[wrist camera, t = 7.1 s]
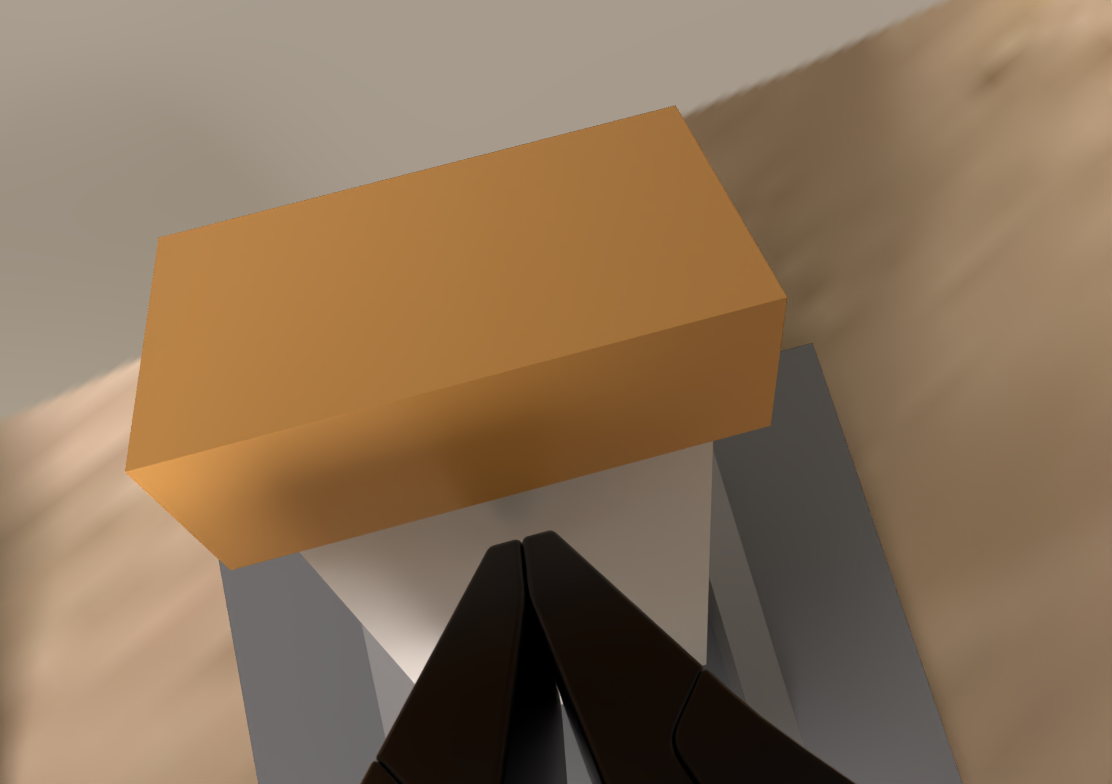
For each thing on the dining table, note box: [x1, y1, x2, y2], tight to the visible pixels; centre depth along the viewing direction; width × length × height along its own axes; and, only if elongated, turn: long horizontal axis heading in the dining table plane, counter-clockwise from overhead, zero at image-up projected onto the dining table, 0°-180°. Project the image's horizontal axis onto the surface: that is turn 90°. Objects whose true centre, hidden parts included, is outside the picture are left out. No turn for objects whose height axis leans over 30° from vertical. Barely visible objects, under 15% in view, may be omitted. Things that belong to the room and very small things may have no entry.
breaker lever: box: [125, 106, 787, 705], centre depth 12 cm, size 3×6×10 cm, turn 105°
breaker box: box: [219, 343, 962, 784], centre depth 17 cm, size 14×14×5 cm
